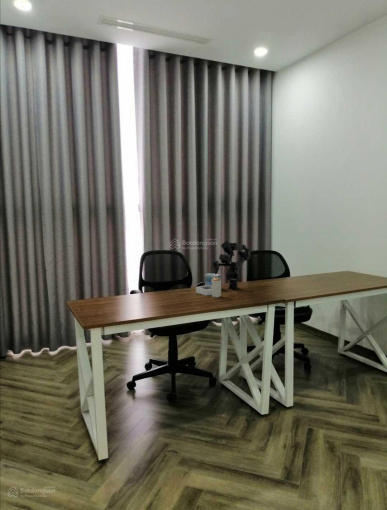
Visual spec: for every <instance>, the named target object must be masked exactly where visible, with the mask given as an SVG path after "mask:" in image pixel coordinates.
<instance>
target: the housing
mask: <svg viewBox="0 0 387 510" xmlns="http://www.w3.org/2000/svg"><path fill="white" fill-rule="evenodd" d="M195 293H196V294H199V295H203V296H205V297H206V296H212V286H211V285H206V286H205V285H201V286H195Z"/></svg>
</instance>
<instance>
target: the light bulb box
mask: <svg viewBox="0 0 387 510" xmlns="http://www.w3.org/2000/svg"><path fill="white" fill-rule="evenodd" d="M204 276H205V277H204V282H205V283H204V286H206V285H211V286H212V280H213V278H219V279H220V280H221V281H222V273H221V274H220V273H217V274H216V275H215V273H209V272H208V273H205V275H204Z"/></svg>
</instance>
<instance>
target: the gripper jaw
mask: <svg viewBox="0 0 387 510" xmlns="http://www.w3.org/2000/svg"><path fill="white" fill-rule="evenodd" d="M221 296H222V279H221V280H220V279H219V278H213V280H212V295H211V297H213V298H219V297H221Z"/></svg>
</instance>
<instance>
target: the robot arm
mask: <svg viewBox="0 0 387 510" xmlns="http://www.w3.org/2000/svg"><path fill="white" fill-rule="evenodd" d="M220 247H221V249H222V251H223V253H225V254H220V253H219V256H218V260H212V262H211V264H212V266H213V268H214V274H215V275H216V274H218V273H219V271H220V267H228V270H227V272H226V274H225V276H226V280H227V281H228V287H227V289H229V290H234V291H235V290H237V289H240V287H238V285H239V284H238V282H240V280H241V276H240V274H239V271H240V270H241V268H242V266H243V265H244V263H245V262H246V261H248V260H249V259H250V258H251V251H250V249H249V248H248V247H247V246H246V244H241V243H240V244H239V243H237V242H229V241H228V240H225V241H224V242H222V243H221V246H220ZM236 251H238V252H237V254H238V259H237V261H233V257H235V252H236ZM219 260H220V262H219Z"/></svg>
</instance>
